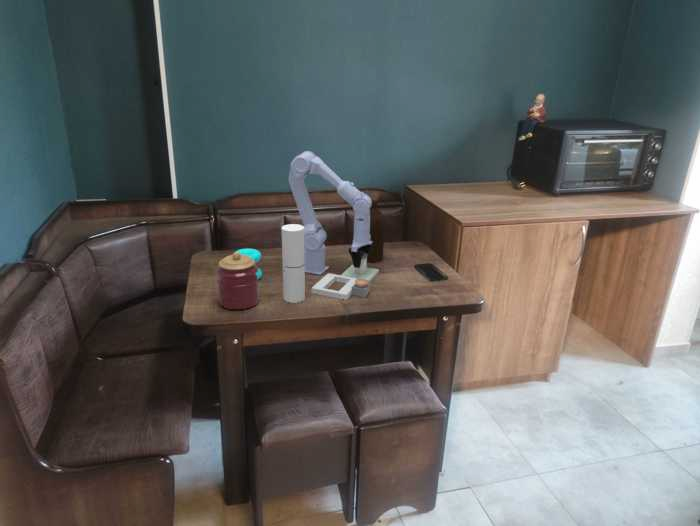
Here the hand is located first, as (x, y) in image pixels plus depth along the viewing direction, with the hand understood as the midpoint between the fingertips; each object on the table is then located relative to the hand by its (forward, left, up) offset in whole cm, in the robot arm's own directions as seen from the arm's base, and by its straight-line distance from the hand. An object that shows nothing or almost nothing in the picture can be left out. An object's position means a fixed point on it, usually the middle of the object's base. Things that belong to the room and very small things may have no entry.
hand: (360, 263), depth 196 cm
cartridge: (0, 0, -3) cm, 3 cm away
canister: (-28, -38, -5) cm, 47 cm away
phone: (+24, +13, -5) cm, 27 cm away
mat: (0, 0, -4) cm, 4 cm away
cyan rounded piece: (-36, -20, -5) cm, 41 cm away
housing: (0, -15, -4) cm, 16 cm away
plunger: (+6, -15, -4) cm, 17 cm away
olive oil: (-2, +17, -5) cm, 18 cm away
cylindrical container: (-13, -28, -5) cm, 31 cm away
